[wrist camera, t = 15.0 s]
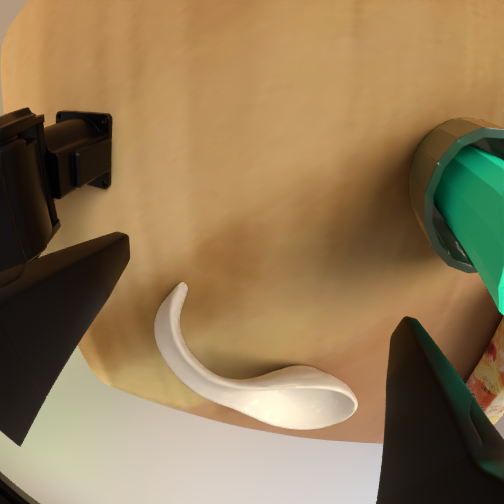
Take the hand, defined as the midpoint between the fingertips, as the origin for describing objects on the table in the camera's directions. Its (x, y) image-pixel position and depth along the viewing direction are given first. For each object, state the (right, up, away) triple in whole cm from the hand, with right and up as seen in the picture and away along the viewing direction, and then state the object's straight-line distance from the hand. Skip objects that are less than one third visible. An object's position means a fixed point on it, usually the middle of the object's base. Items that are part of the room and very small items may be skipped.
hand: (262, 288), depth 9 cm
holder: (+15, +6, +8) cm, 18 cm away
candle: (+15, +6, +8) cm, 18 cm away
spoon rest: (+1, -10, +22) cm, 24 cm away
